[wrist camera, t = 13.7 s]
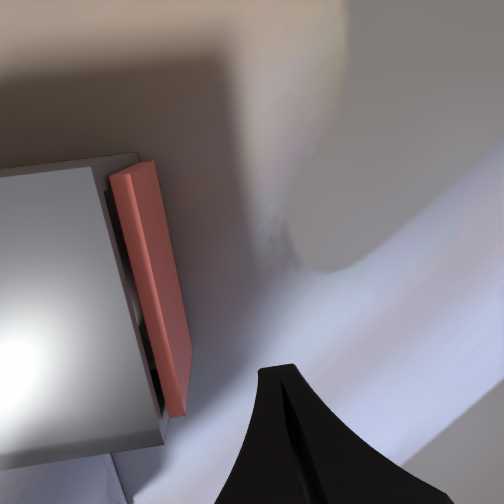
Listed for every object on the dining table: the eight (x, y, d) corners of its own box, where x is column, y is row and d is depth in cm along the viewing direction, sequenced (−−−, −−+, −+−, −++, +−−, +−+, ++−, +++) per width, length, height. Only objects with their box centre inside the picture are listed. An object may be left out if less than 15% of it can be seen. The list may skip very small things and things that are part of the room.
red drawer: (192, 349, 23) (185, 415, 18) (24, 375, 22) (-35, 449, 17) (154, 160, 19) (129, 173, 14) (-54, 186, 18) (-161, 209, 13)
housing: (180, 351, 24) (164, 444, 17) (13, 376, 23) (-76, 483, 16) (136, 152, 19) (90, 166, 12) (-72, 177, 19) (-243, 207, 12)
